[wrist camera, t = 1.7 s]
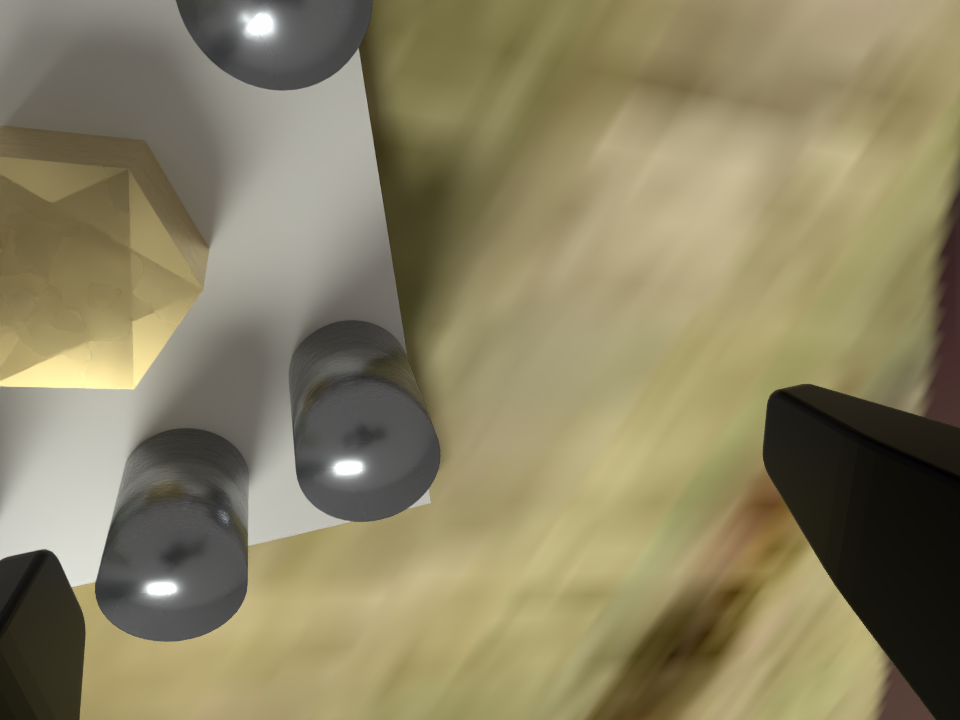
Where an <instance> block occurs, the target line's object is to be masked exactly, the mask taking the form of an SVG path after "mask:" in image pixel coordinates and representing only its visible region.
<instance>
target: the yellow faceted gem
mask: <svg viewBox="0 0 960 720" xmlns="http://www.w3.org/2000/svg"><path fill="white" fill-rule="evenodd" d="M208 255H209V248H208V246H207V244H206V242H205V241H204V239H203V237H202V236H201V234H200V232H199V231H198V229H197V227H196V226H195V224H194V222H193V221H192V219H191V217H190V215H189V214H188V212H187V210H186V209H185V207H184V205H183V204H182V202H181V200H180V199H179V197H178V195H177V194H176V192H175V190H174V189H173V187H172V185H171V183H170V182H169V180H168V178H167V177H166V175H165V173H164V172H163V170H162V168H161V167H160V165H159V163H158V162H157V160H156V158H155V156H154V155H153V153H152V151H151V150H150V148H149V146H148V145H147V143H146V141H145V140H136V139H127V138H117V137H108V136H98V135H89V134H79V133H70V132H60V131H51V130H42V129H32V128H23V127H13V126H4V125H3V126H2V127H0V386H5V387H49V388H93V389H135V387H136V386H137V384H138V383H139V381H140V380H141V379H142V377H143V376H144V374H145V373H146V371H147V370H148V369H149V367H150V366H151V364H152V363H153V361H154V360H155V358H156V357H157V356H158V354H159V353H160V351H161V350H162V348H163V347H164V346H165V344H166V343H167V341H168V340H169V338H170V337H171V335H172V334H173V333H174V331H175V330H176V328H177V327H178V325H179V324H180V322H181V321H182V320H183V318H184V317H185V315H186V314H187V312H188V311H189V310H190V308H191V307H192V305H193V304H194V302H195V301H196V299H197V298H198V297H199V295H200V294H201V292H202V291H203V288H204V281H205V274H206V268H207V261H208Z"/></svg>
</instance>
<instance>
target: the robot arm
mask: <svg viewBox="0 0 960 720" xmlns="http://www.w3.org/2000/svg"><path fill="white" fill-rule="evenodd" d="M763 461H764V465H765V468H766V471H767V473H768V475H769V477H770V479H771V480H772V482H773V484H774V485H775V487H776V489H777V490H778V492H779V494H780V495H781V497H782V499H783V500H784V502H785V504H786V505H787V507H788V509H789V510H790V512H791V514H792V515H793V517H794V519H795V520H796V522H797V524H798V525H799V527H800V529H801V530H802V532H803V534H804V535H805V537H806V539H807V540H808V542H809V544H810V545H811V547H812V549H813V550H814V552H815V554H816V555H817V557H818V559H819V560H820V562H821V564H822V565H823V567H824V569H825V570H826V572H827V573H828V575H829V576H830V578H831V579H832V581H833V583H834V584H835V586H836V587H837V588H838V590H839V591H840V593H841V594H842V595H843V597H844V598H845V600H846V601H847V602H848V604H849V605H850V607H851V608H852V609H853V611H854V612H855V613H856V615H857V616H858V617H859V619H860V620H861V621H862V622H863V624H864V625H865V626H866V628H867V629H868V630H869V632H870V633H871V634H872V636H873V637H874V638H875V640H876V641H877V642H878V644H879V645H880V646H881V648H882V649H883V650H884V652H885V653H886V654H887V656H888V657H889V658H890V660H891V661H892V662H893V664H894V665H895V666H896V668H897V669H898V670H899V672H900V673H901V674H902V676H903V677H904V678H905V680H906V681H907V682H908V684H909V685H910V686H911V688H912V689H913V690H914V692H915V693H916V694H917V696H918V697H919V698H920V700H921V701H922V702H923V704H924V705H925V706H926V708H927V709H928V710H929V712H930V713H931V714H932V716H933V717H934V718H935V720H960V428H959V427H956V426H953V425H949V424H946V423H942V422H939V421H936V420H932V419H929V418H925V417H922V416H918V415H915V414H911V413H908V412H905V411H901V410H898V409H894V408H891V407H887V406H884V405H881V404H877V403H874V402H870V401H867V400H863V399H860V398H857V397H853V396H850V395H846V394H843V393H839V392H836V391H833V390H829V389H826V388H822V387H819V386H815V385H812V384H801V385H797V386H792V387H787V388H783V389H778V390H776V391H774V392H773V393H772V394H771V395H770V397H769V399H768V403H767V410H766V421H765V431H764V442H763ZM84 649H85V622H84V617H83V613H82V610H81V607H80V605H79V603H78V601H77V599H76V596H75V594H74V592H73V590H72V588H71V585H70V583H69V581H68V579H67V576H66V574H65V572H64V570H63V568H62V565H61V563H60V561H59V559H58V558H57V556H56V555H55V554H54V553H53V552H52V551H49V550H47V549H41V550H36V551H32V552H27V553H22V554H18V555H13V556H9V557H6V558H3V559H1V560H0V720H79V719H80V705H81V691H82V677H83V663H84Z"/></svg>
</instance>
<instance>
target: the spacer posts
mask: <svg viewBox="0 0 960 720" xmlns="http://www.w3.org/2000/svg"><path fill="white" fill-rule="evenodd" d="M176 3H177V6H178V10H179V13H180V16H181V18H182V20H183V22H184V24H185V27H186V29H187V30H188V32H189V34H190V35H191V37H192V39H193V40H194V42H195V43H196V44H197V46H198V47H199V48H200V49H201V51H202V52H203V53H204V54H205V55H206V56H207V57H208V58H209V59H210V60H211V61H212V62H213V63H214V64H215V65H217V66H218V67H219V68H220V69H222V70H223V71H224V72H226V73H228V74H229V75H231V76H232V77H234V78H236V79H238V80H240V81H242V82H244V83H246V84H250V85H253V86H256V87H259V88H264V89H269V90H281V91H286V90H297V89H302V88H306V87H310V86H312V85H315V84H318V83H320V82H322V81H324V80H326V79H328V78H330V77H331V76H332V75H334V74H335V73H337V72H338V71H339V70H340V69H341V68H342V67H343V66H344V65H346V64H347V63H348V61H349V60H350V59H351V58H352V56H353V55H354V54H355V53H356V51H357V49H358V48H359V46H360V44H361V43H362V40H363V38H364V36H365V33H366V31H367V28H368V24H369V21H370V17H371V11H372V0H176ZM289 391H290V404H291V417H292V429H293V442H294V455H295V467H296V475H297V480H298V483H299V486H300V488H301V490H302V492H303V494H304V495H305V497H306V498H307V499H308V500H309V501H310V502H311V503H312V504H313V505H314V506H315V507H316V508H318V509H319V510H320V511H322V512H324V513H326V514H327V515H330V516H332V517H335V518H338V519H342V520H346V521H353V522H367V521H375V520H381V519H384V518H388V517H391V516H393V515H396V514H398V513H400V512H402V511H404V510H406V509H407V508H409V507H410V506H412V505H413V504H414V503H415V502H417V501H418V500H419V499H420V498H421V497H422V496H423V495H424V494H425V493H426V492H427V490H428V489H429V487H430V486H431V484H432V483H433V481H434V479H435V477H436V474H437V472H438V468H439V464H440V446H439V441H438V438H437V436H436V433H435V430H434V428H433V425H432V422H431V420H430V417H429V414H428V412H427V409H426V406H425V404H424V401H423V398H422V396H421V393H420V390H419V388H418V385H417V382H416V380H415V377H414V374H413V372H412V369H411V366H410V364H409V361H408V358H407V356H406V353H405V351H404V349H403V347H402V345H401V344H400V342H399V341H398V340H397V339H396V338H395V337H394V336H393V335H392V334H391V333H390V332H388V331H387V330H385V329H384V328H382V327H380V326H378V325H375V324H372V323H369V322H365V321H357V320H346V321H339V322H335V323H331V324H328V325H326V326H323V327H321V328H320V329H318V330H316V331H314V332H313V333H312V334H310V335H309V336H308V337H307V338H306V339H305V340H304V341H303V342H302V343H301V344H300V345H299V347H298V348H297V350H296V351H295V353H294V355H293V357H292V360H291V363H290V367H289ZM248 498H249V473H248V468H247V464H246V462H245V459H244V458H243V456H242V454H241V453H240V452H239V450H238V449H237V448H236V447H235V446H234V445H233V444H232V443H230V442H229V441H228V440H226V439H225V438H223V437H221V436H219V435H217V434H215V433H212V432H209V431H205V430H200V429H192V428H181V429H173V430H168V431H164V432H161V433H159V434H156V435H154V436H152V437H150V438H148V439H147V440H145V441H144V442H142V443H141V444H140V445H139V446H138V447H137V448H136V449H135V450H134V451H133V452H132V453H131V455H130V456H129V458H128V460H127V462H126V464H125V467H124V471H123V475H122V479H121V483H120V487H119V491H118V495H117V499H116V503H115V507H114V511H113V515H112V519H111V523H110V527H109V531H108V535H107V539H106V543H105V547H104V551H103V555H102V559H101V563H100V567H99V570H98V574H97V579H96V583H95V594H96V599H97V602H98V605H99V607H100V609H101V611H102V613H103V614H104V615H105V616H106V618H107V619H108V620H109V621H110V622H111V623H112V624H114V625H115V626H116V627H118V628H119V629H121V630H123V631H124V632H126V633H128V634H131V635H133V636H136V637H139V638H143V639H147V640H153V641H181V640H187V639H192V638H195V637H199V636H202V635H204V634H207V633H209V632H211V631H213V630H215V629H217V628H218V627H220V626H221V625H223V624H224V623H226V622H227V621H228V620H229V619H230V618H231V617H232V616H233V615H234V614H235V613H236V612H237V611H238V609H239V608H240V606H241V604H242V602H243V600H244V598H245V595H246V592H247V585H248Z"/></svg>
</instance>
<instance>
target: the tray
mask: <svg viewBox="0 0 960 720" xmlns="http://www.w3.org/2000/svg"><path fill="white" fill-rule="evenodd" d="M3 125H4V126H13V127H23V128H32V129H42V130H51V131H60V132H70V133H79V134H89V135H98V136H108V137H117V138H127V139H136V140H145V141H146V143H147V145H148V146H149V148H150V150H151V151H152V153H153V155H154V156H155V158H156V160H157V162H158V163H159V165H160V167H161V168H162V170H163V172H164V173H165V175H166V177H167V178H168V180H169V182H170V183H171V185H172V187H173V189H174V190H175V192H176V194H177V195H178V197H179V199H180V200H181V202H182V204H183V205H184V207H185V209H186V210H187V212H188V214H189V215H190V217H191V219H192V221H193V222H194V224H195V226H196V227H197V229H198V231H199V232H200V234H201V236H202V237H203V239H204V241H205V242H206V244H207V246H208V248H209V255H208V261H207V268H206V274H205V281H204V288H203V291H202V292H201V294H200V295H199V297H198V298H197V299H196V301H195V302H194V304H193V305H192V307H191V308H190V310H189V311H188V312H187V314H186V315H185V317H184V318H183V320H182V321H181V322H180V324H179V325H178V327H177V328H176V330H175V331H174V333H173V334H172V335H171V337H170V338H169V340H168V341H167V343H166V344H165V346H164V347H163V348H162V350H161V351H160V353H159V354H158V356H157V357H156V358H155V360H154V361H153V363H152V364H151V366H150V367H149V369H148V370H147V371H146V373H145V374H144V376H143V377H142V379H141V380H140V381H139V383H138V384H137V386H136V387H135V389H93V388H49V387H5V386H0V560H1V559H3V558H6V557H9V556H13V555H18V554H22V553H27V552H32V551H36V550H41V549H47V550H49V551H52V552H53V553H54V554H55V555H56V556H57V558H58V559H59V561H60V563H61V565H62V568H63V570H64V572H65V574H66V576H67V579H68V581H69V583H70V585H71V587H75V586H79V585H83V584H87V583H92V582H96V579H97V574H98V570H99V567H100V563H101V559H102V555H103V551H104V547H105V543H106V539H107V535H108V531H109V527H110V523H111V519H112V515H113V511H114V507H115V503H116V499H117V495H118V491H119V487H120V483H121V479H122V475H123V471H124V467H125V464H126V462H127V460H128V458H129V456H130V455H131V453H132V452H133V451H134V450H135V449H136V448H137V447H138V446H139V445H140V444H141V443H142V442H144V441H145V440H147V439H148V438H150V437H152V436H154V435H156V434H159V433H161V432H164V431H168V430H173V429H181V428H192V429H200V430H205V431H209V432H212V433H215V434H217V435H219V436H221V437H223V438H225V439H226V440H228V441H229V442H230V443H232V444H233V445H234V446H235V447H236V448H237V449H238V450H239V452H240V453H241V454H242V456H243V458H244V459H245V462H246V464H247V468H248V473H249V498H248V546H250V545H254V544H258V543H263V542H267V541H271V540H275V539H280V538H284V537H288V536H292V535H297V534H301V533H305V532H309V531H314V530H318V529H322V528H327V527H331V526H335V525H339V524H344V523H348V522H352V521H346V520H342V519H338V518H335V517H332V516H330V515H327V514H326V513H324V512H322V511H320V510H319V509H318V508H316V507H315V506H314V505H313V504H312V503H311V502H310V501H309V500H308V499H307V498H306V497H305V495H304V494H303V492H302V490H301V488H300V486H299V483H298V480H297V475H296V467H295V455H294V442H293V429H292V417H291V404H290V391H289V367H290V363H291V360H292V357H293V355H294V353H295V351H296V350H297V348H298V347H299V345H300V344H301V343H302V342H303V341H304V340H305V339H306V338H307V337H308V336H309V335H310V334H312V333H313V332H314V331H316V330H318V329H320V328H321V327H323V326H326V325H328V324H331V323H335V322H339V321H346V320H357V321H365V322H369V323H372V324H375V325H378V326H380V327H382V328H384V329H385V330H387V331H388V332H390V333H391V334H392V335H393V336H394V337H395V338H396V339H397V340H398V341H399V342H400V344H401V345H402V347H403V349H404V351H405V353H406V356H407V351H406V345H405V338H404V332H403V326H402V319H401V313H400V307H399V300H398V294H397V288H396V281H395V275H394V269H393V262H392V256H391V250H390V243H389V237H388V231H387V225H386V218H385V212H384V206H383V199H382V193H381V187H380V180H379V174H378V168H377V161H376V155H375V149H374V142H373V136H372V130H371V124H370V117H369V111H368V105H367V98H366V92H365V86H364V79H363V73H362V67H361V60H360V54H359V48H358V49H357V51H356V53H355V54H354V55H353V56H352V58H351V59H350V60H349V61H348V63H347V64H346V65H344V66H343V67H342V68H341V69H340V70H339V71H338V72H337V73H335V74H334V75H332V76H331V77H330V78H328V79H326V80H324V81H322V82H320V83H318V84H315V85H312V86H310V87H306V88H302V89H297V90H286V91H281V90H269V89H264V88H259V87H256V86H253V85H250V84H246V83H244V82H242V81H240V80H238V79H236V78H234V77H232V76H231V75H229V74H228V73H226V72H224V71H223V70H222V69H220V68H219V67H218V66H217V65H215V64H214V63H213V62H212V61H211V60H210V59H209V58H208V57H207V56H206V55H205V54H204V53H203V52H202V51H201V49H200V48H199V47H198V46H197V44H196V43H195V42H194V40H193V39H192V37H191V35H190V34H189V32H188V30H187V29H186V27H185V24H184V22H183V20H182V18H181V16H180V13H179V10H178V6H177V3H176V0H0V127H2V126H3ZM407 358H408V357H407ZM429 503H431V502H430V496H429V490H427V492H426V493H425V494H424V495H423V496H422V497H421V498H420V499H419V500H418V501H417V502H415V503H414V504H413V505H412V506H410V507H409V508H412V507H416V506H421V505H425V504H429ZM407 509H408V508H407Z"/></svg>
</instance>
